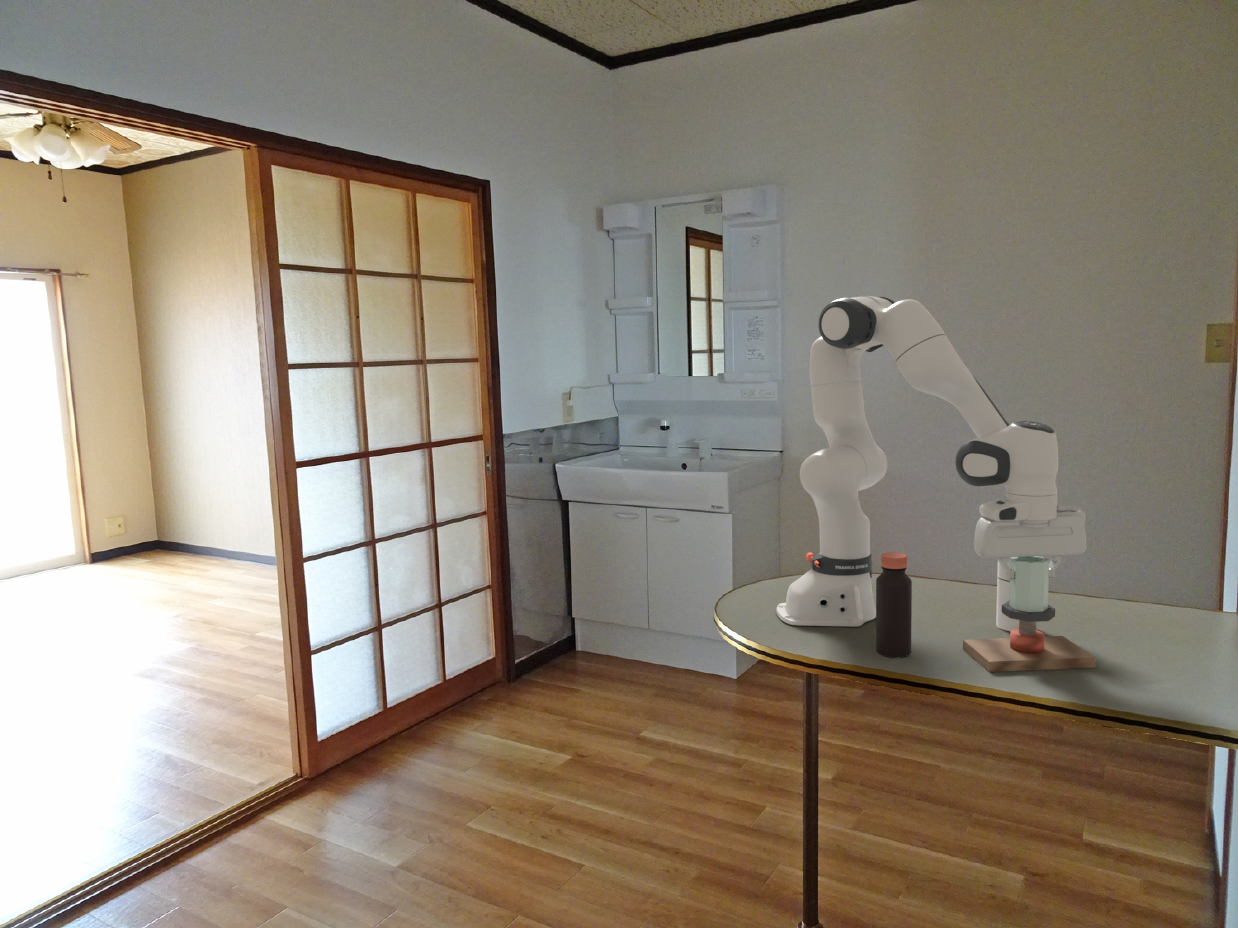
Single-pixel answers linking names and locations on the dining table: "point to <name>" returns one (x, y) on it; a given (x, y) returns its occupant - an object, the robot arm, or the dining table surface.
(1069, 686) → the dining table surface
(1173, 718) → the dining table surface
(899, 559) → the bottle
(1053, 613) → the o ring
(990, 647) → the pipe stand
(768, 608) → the dining table surface
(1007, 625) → the cylindrical container
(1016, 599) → the sleeve
